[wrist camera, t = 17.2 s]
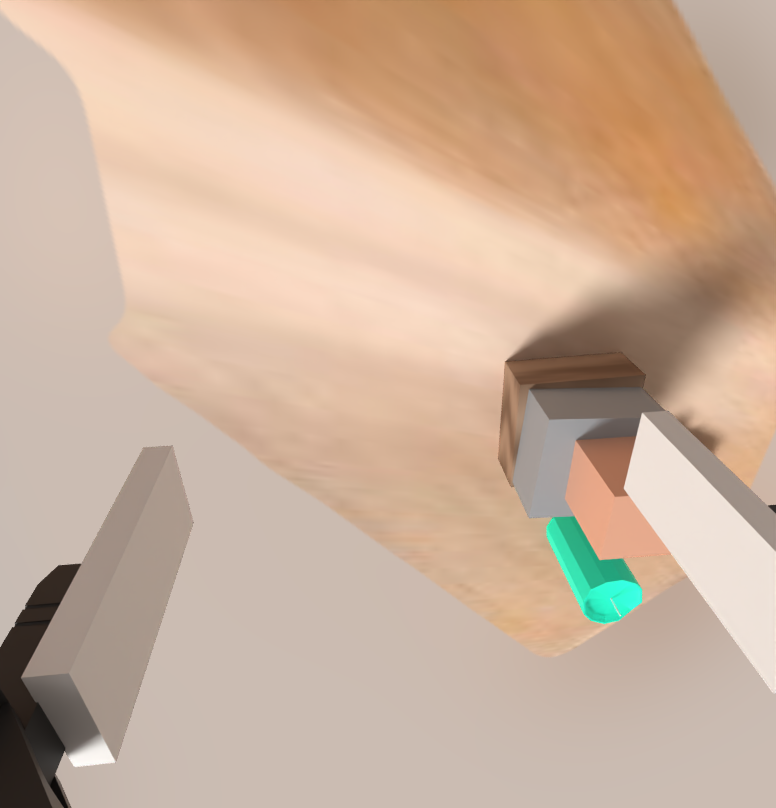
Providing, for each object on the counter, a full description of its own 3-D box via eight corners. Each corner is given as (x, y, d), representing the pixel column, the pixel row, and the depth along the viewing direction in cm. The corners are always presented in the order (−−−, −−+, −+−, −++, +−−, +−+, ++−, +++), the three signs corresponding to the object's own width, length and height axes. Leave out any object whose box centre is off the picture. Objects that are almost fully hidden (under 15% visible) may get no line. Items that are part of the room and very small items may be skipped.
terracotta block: (575, 440, 43) (615, 496, 37) (648, 435, 44) (698, 490, 38) (564, 498, 46) (599, 560, 40) (632, 493, 47) (677, 553, 41)
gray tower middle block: (529, 389, 46) (549, 419, 42) (640, 387, 47) (671, 416, 43) (512, 482, 51) (528, 518, 47) (613, 478, 52) (639, 513, 48)
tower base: (503, 359, 50) (519, 385, 46) (619, 350, 51) (645, 374, 47) (497, 456, 56) (510, 487, 52) (601, 447, 56) (623, 476, 52)
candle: (553, 553, 63) (596, 644, 53) (539, 519, 60) (582, 608, 50) (603, 534, 62) (656, 623, 52) (591, 499, 59) (645, 585, 49)
